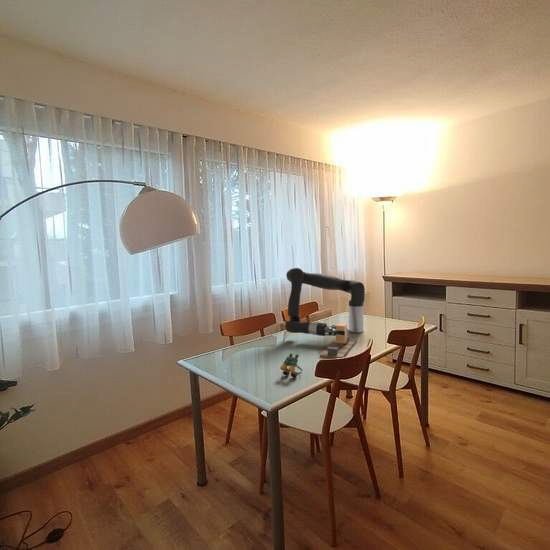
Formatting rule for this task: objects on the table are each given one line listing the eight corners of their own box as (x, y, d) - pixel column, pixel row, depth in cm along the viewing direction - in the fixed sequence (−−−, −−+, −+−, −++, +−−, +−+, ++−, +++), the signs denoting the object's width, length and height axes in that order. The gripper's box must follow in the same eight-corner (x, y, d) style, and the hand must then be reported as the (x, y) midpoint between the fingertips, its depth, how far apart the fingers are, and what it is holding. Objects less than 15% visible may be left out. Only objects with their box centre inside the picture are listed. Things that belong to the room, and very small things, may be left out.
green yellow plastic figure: (283, 378, 153) (276, 365, 147) (291, 362, 159) (284, 349, 153) (300, 382, 148) (293, 369, 142) (308, 366, 153) (302, 352, 148)
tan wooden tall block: (338, 339, 189) (338, 323, 188) (347, 340, 187) (346, 323, 186) (336, 342, 185) (335, 325, 184) (344, 343, 183) (344, 326, 182)
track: (336, 340, 198) (336, 333, 197) (356, 342, 192) (356, 335, 192) (319, 357, 172) (319, 348, 171) (342, 360, 166) (341, 351, 166)
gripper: (313, 325, 185) (342, 328, 177) (321, 319, 198) (349, 322, 190) (313, 338, 186) (342, 342, 178) (322, 331, 199) (349, 334, 191)
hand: (346, 331), depth 184 cm, fingers closed on tan wooden tall block, 5 cm apart
